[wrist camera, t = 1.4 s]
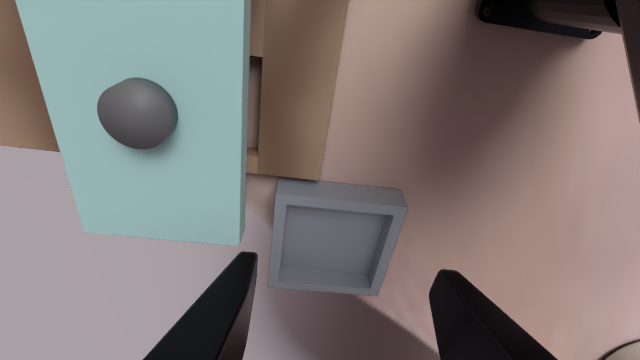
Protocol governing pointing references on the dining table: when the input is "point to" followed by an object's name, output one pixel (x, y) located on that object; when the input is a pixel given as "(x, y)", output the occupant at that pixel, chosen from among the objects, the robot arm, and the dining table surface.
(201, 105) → the teal lid
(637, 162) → the dining table surface
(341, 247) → the slate tray
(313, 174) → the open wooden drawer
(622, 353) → the travel mug
